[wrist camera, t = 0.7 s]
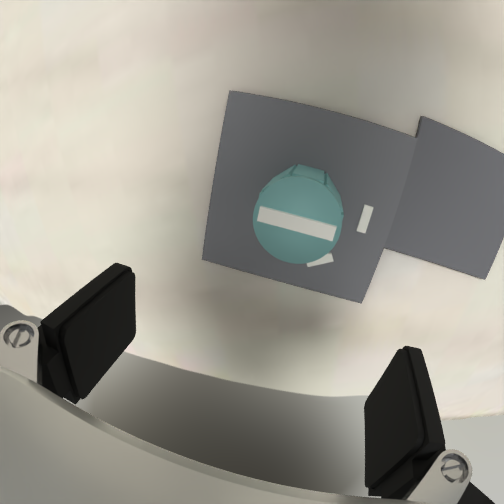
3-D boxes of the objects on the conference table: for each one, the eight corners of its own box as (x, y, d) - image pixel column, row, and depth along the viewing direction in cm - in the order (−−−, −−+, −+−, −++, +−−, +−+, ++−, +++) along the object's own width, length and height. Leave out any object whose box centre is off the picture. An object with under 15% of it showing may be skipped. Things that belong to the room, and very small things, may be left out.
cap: (261, 224, 28) (244, 252, 22) (276, 158, 25) (261, 169, 20) (327, 242, 27) (327, 275, 22) (346, 176, 25) (353, 193, 19)
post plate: (231, 90, 24) (211, 84, 20) (415, 138, 22) (434, 141, 18) (203, 257, 31) (183, 280, 27) (361, 300, 29) (365, 330, 25)
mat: (421, 116, 21) (422, 116, 21) (523, 166, 20) (526, 166, 20) (382, 245, 27) (383, 247, 26) (483, 277, 25) (485, 279, 25)
